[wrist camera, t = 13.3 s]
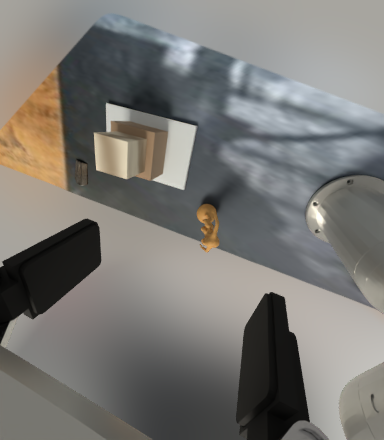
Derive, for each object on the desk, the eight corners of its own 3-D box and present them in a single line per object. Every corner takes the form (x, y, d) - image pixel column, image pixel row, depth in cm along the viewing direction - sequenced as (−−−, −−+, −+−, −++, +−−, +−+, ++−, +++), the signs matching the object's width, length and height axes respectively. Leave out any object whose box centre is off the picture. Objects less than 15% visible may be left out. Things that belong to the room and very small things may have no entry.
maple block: (146, 139, 30) (127, 141, 26) (144, 171, 33) (126, 179, 28) (117, 131, 31) (94, 132, 26) (117, 163, 34) (96, 169, 29)
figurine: (205, 189, 38) (187, 213, 28) (233, 199, 37) (226, 227, 27) (194, 222, 42) (176, 254, 32) (220, 232, 41) (209, 268, 31)
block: (91, 162, 44) (86, 164, 43) (90, 186, 47) (85, 188, 45) (77, 157, 44) (71, 158, 43) (76, 181, 47) (71, 183, 45)
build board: (197, 126, 33) (186, 126, 28) (185, 188, 39) (174, 199, 34) (108, 103, 36) (83, 99, 30) (109, 165, 42) (89, 171, 36)
